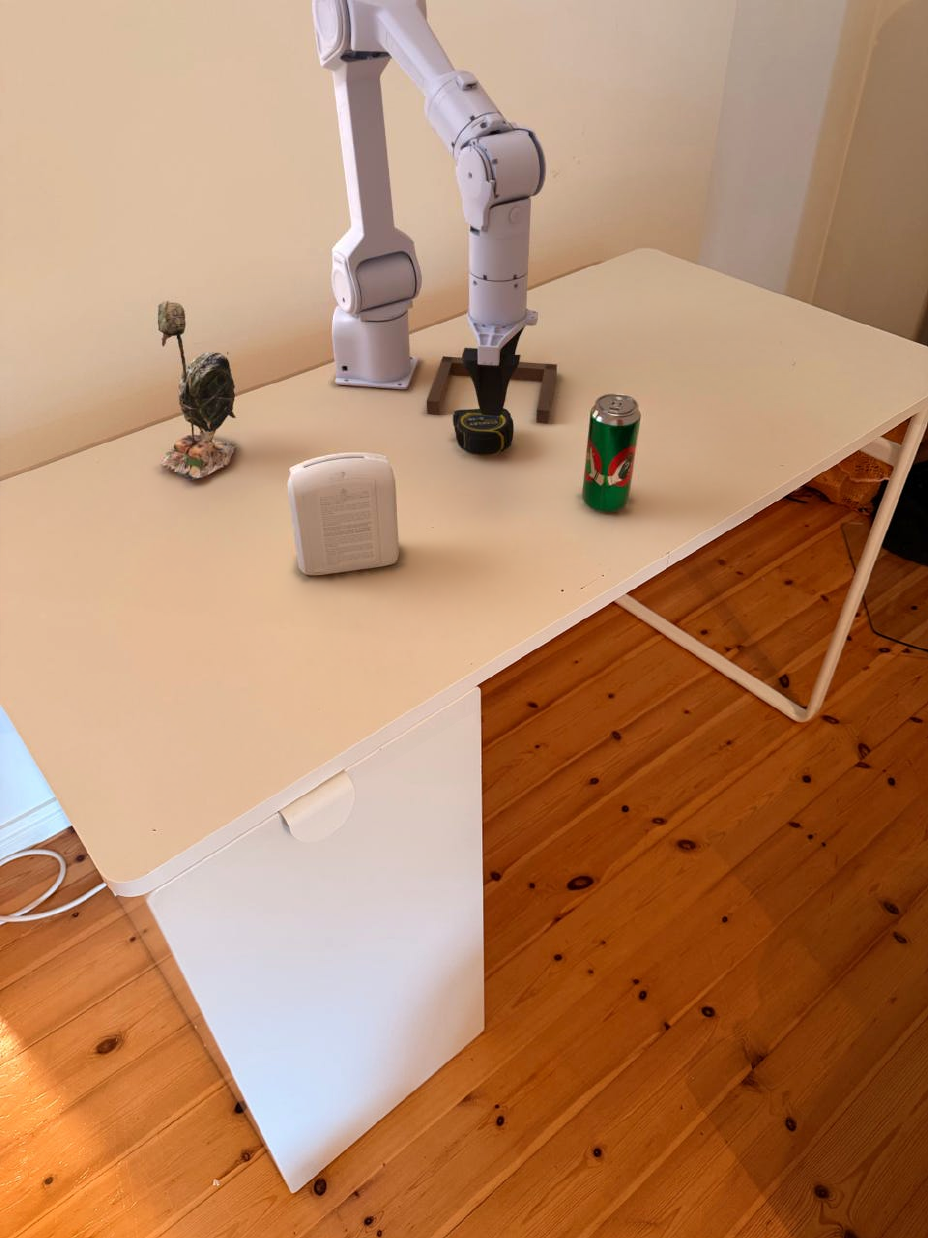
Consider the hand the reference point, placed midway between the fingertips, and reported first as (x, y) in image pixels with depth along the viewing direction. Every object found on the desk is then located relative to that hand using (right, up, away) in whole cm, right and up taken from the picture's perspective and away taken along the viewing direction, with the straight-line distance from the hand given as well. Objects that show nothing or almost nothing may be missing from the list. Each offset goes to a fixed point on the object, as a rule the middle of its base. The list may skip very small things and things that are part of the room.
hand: (495, 395), depth 99 cm
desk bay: (0, +4, +18) cm, 19 cm away
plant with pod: (-33, -5, +9) cm, 35 cm away
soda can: (+12, -11, +2) cm, 17 cm away
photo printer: (-15, -18, -5) cm, 24 cm away
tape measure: (-1, -3, +11) cm, 11 cm away
